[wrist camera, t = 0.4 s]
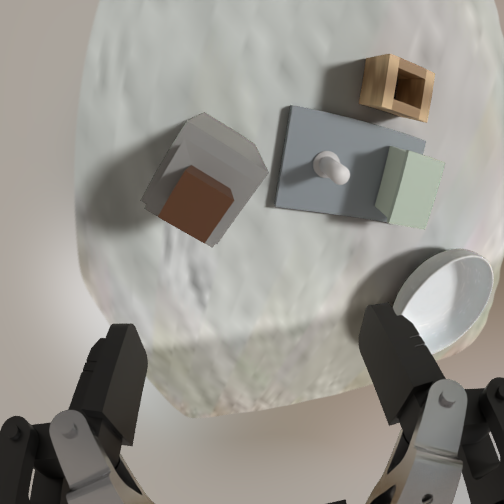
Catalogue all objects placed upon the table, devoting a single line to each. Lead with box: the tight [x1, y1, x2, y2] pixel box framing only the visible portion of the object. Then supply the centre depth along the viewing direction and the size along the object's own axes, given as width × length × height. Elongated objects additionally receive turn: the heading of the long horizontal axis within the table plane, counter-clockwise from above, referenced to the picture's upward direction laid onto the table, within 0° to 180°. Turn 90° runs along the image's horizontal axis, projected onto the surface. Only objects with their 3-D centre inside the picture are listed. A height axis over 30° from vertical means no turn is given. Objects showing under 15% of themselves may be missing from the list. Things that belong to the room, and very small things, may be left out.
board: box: [274, 105, 426, 222], centre depth 31 cm, size 12×18×6 cm, turn 82°
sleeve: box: [359, 54, 435, 123], centre depth 27 cm, size 6×6×6 cm
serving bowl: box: [393, 249, 493, 354], centre depth 42 cm, size 21×21×7 cm
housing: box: [375, 146, 445, 230], centre depth 31 cm, size 9×6×5 cm, turn 172°
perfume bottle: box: [140, 112, 269, 248], centre depth 25 cm, size 7×7×18 cm
